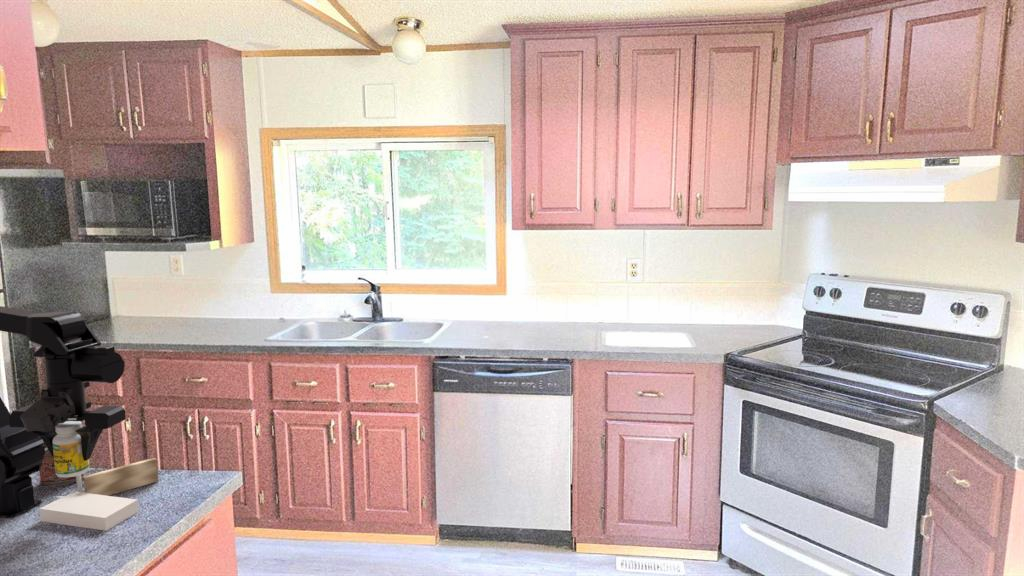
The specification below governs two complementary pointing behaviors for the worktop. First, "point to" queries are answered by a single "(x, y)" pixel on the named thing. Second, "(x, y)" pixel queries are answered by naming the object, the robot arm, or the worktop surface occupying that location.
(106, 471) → the wooden board
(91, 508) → the white slab
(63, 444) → the supplement bottle
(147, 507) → the worktop surface
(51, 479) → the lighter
